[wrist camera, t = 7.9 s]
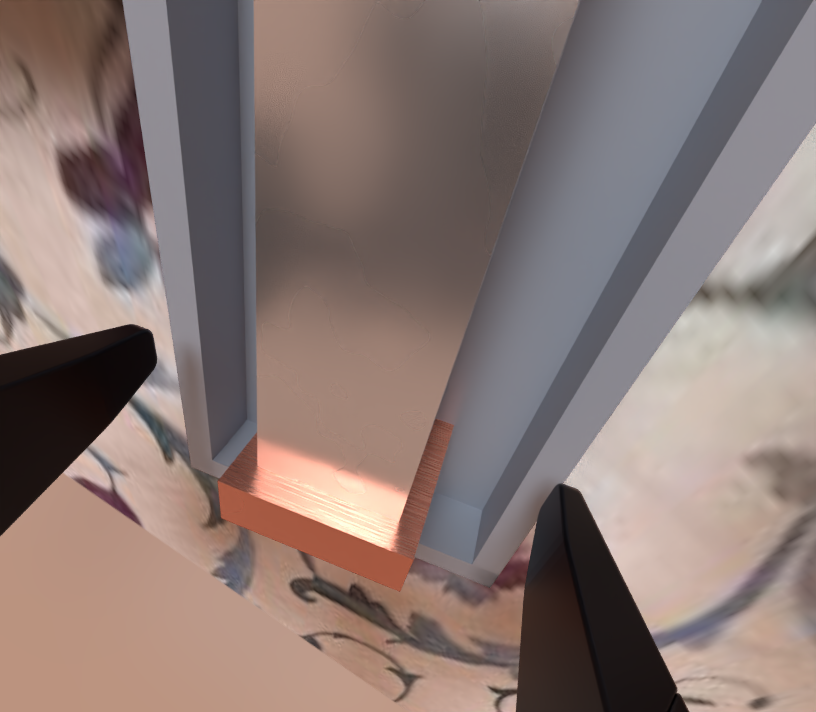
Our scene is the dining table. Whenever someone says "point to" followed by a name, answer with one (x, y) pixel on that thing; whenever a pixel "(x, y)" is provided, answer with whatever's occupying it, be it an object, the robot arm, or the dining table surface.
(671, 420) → the dining table surface
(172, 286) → the tray
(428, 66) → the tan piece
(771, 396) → the dining table surface
